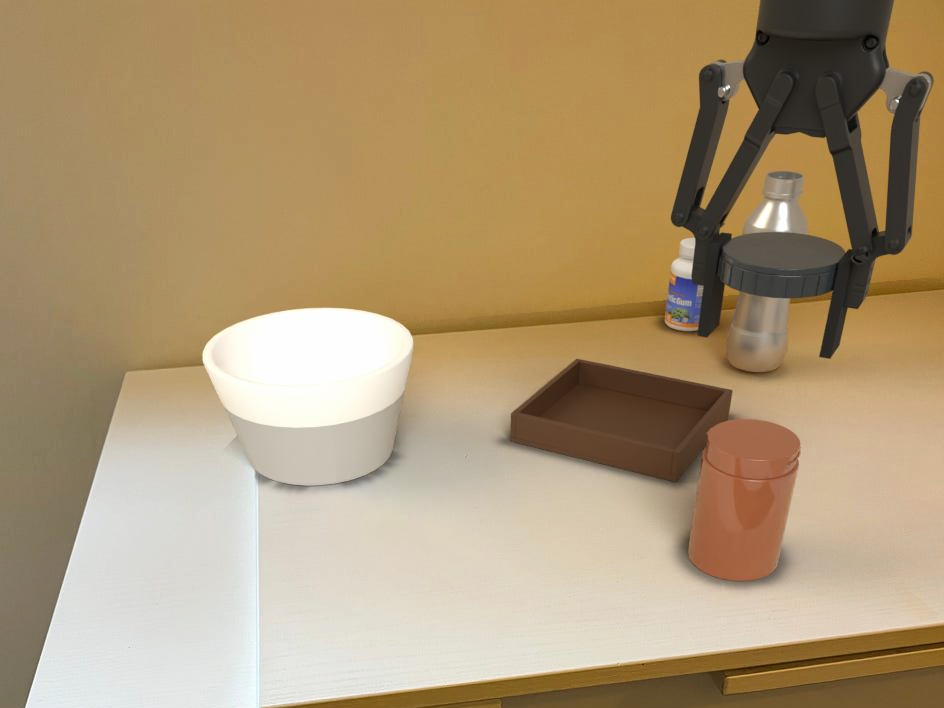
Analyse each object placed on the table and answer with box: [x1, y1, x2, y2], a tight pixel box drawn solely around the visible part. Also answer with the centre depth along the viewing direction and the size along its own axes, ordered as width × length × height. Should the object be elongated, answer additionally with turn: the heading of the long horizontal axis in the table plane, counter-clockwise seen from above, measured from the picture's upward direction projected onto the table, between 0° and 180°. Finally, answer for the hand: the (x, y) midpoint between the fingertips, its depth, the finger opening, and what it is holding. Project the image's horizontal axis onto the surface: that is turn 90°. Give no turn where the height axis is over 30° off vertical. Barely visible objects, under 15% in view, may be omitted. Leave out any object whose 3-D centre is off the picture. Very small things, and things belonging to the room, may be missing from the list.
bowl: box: [202, 307, 415, 487], centre depth 94 cm, size 19×19×11 cm
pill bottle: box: [664, 237, 703, 332], centre depth 118 cm, size 5×5×10 cm
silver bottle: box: [725, 170, 809, 373], centre depth 105 cm, size 6×7×20 cm
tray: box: [509, 358, 734, 483], centre depth 99 cm, size 17×15×3 cm
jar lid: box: [718, 232, 846, 299], centre depth 68 cm, size 8×8×2 cm
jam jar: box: [687, 418, 801, 582], centre depth 78 cm, size 7×7×11 cm
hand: (767, 340), depth 71 cm, fingers closed on jar lid, 8 cm apart
